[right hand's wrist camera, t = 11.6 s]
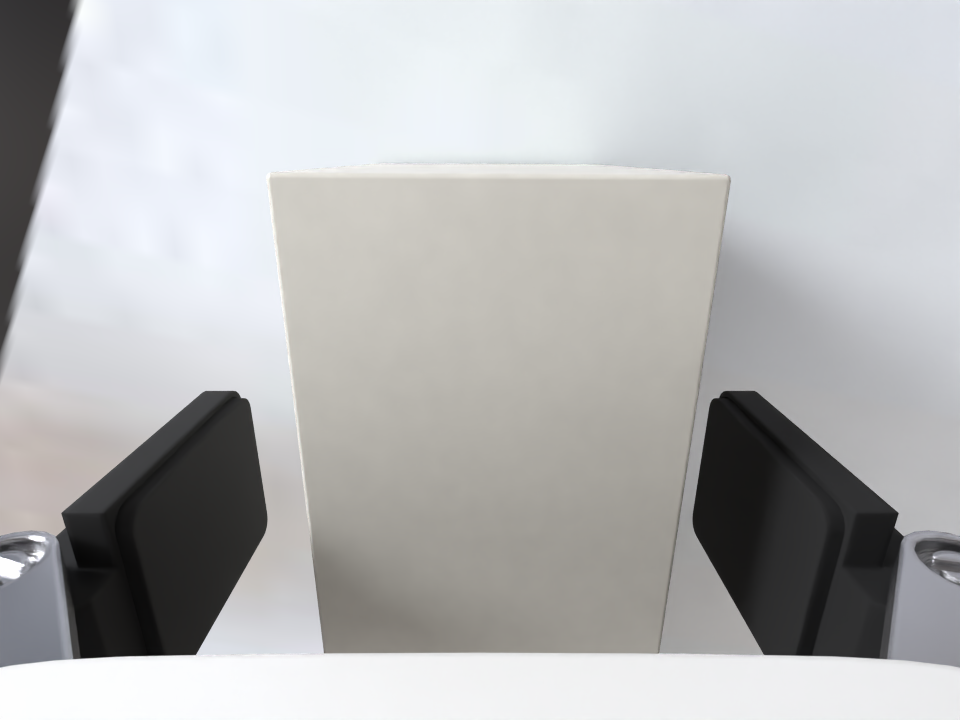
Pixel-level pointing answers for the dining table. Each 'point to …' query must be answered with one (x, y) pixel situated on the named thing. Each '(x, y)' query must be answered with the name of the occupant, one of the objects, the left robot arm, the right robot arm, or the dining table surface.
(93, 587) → the right robot arm
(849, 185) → the dining table surface
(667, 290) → the block
